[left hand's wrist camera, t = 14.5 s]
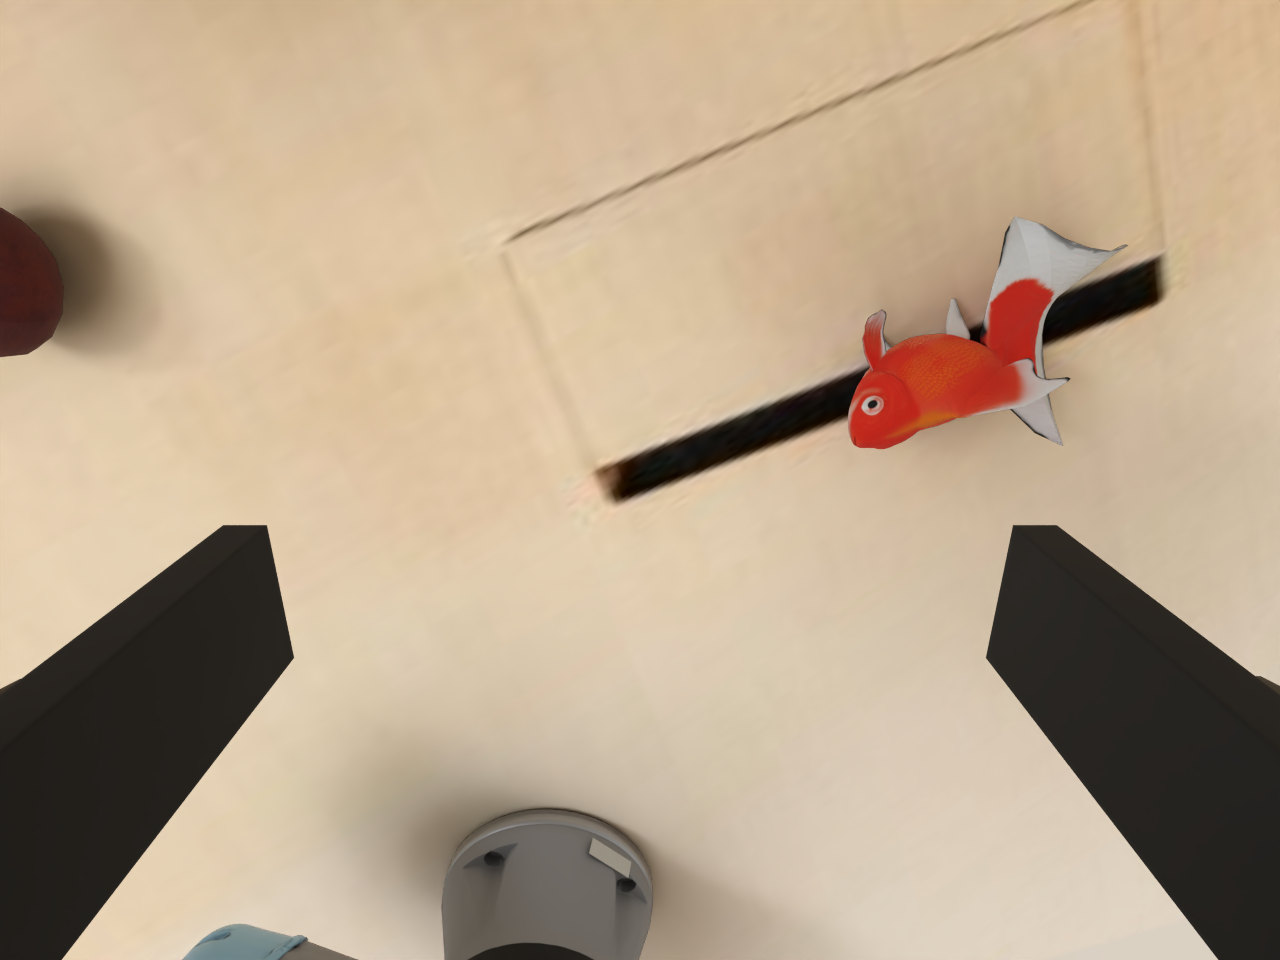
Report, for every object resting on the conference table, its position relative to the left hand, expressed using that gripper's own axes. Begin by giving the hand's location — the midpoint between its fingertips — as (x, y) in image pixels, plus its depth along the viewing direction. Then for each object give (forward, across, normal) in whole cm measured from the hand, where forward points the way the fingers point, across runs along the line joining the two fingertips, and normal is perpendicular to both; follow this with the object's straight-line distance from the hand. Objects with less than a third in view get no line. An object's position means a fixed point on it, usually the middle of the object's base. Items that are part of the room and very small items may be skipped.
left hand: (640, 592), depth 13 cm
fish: (+28, -17, 0) cm, 32 cm away
